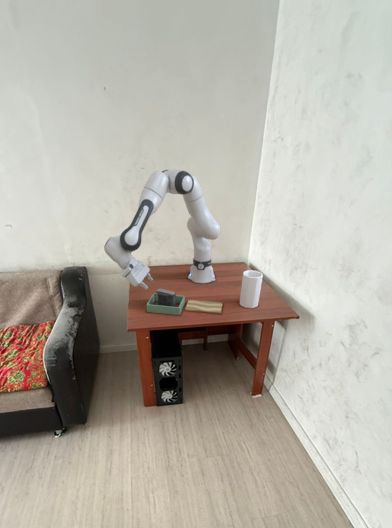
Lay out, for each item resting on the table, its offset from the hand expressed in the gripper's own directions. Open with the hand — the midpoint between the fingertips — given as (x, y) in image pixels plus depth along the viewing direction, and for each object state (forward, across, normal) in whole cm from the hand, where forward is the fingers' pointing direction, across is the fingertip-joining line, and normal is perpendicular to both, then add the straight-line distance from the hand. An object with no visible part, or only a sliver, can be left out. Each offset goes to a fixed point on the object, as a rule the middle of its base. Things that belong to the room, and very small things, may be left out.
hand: (149, 284), depth 158 cm
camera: (+15, 0, -3) cm, 16 cm away
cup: (+48, -14, +29) cm, 58 cm away
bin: (+15, 0, -3) cm, 16 cm away
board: (+30, -4, +12) cm, 33 cm away
